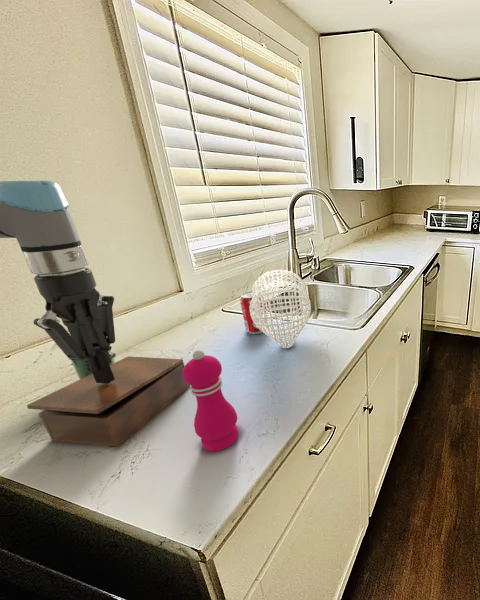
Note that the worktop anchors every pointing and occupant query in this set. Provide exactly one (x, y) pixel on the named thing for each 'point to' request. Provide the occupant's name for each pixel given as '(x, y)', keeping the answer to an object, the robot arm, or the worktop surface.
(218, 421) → the pepper mill
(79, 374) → the green pot
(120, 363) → the lid
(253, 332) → the soda can
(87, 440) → the chest
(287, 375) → the worktop surface
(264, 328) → the heart
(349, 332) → the worktop surface
